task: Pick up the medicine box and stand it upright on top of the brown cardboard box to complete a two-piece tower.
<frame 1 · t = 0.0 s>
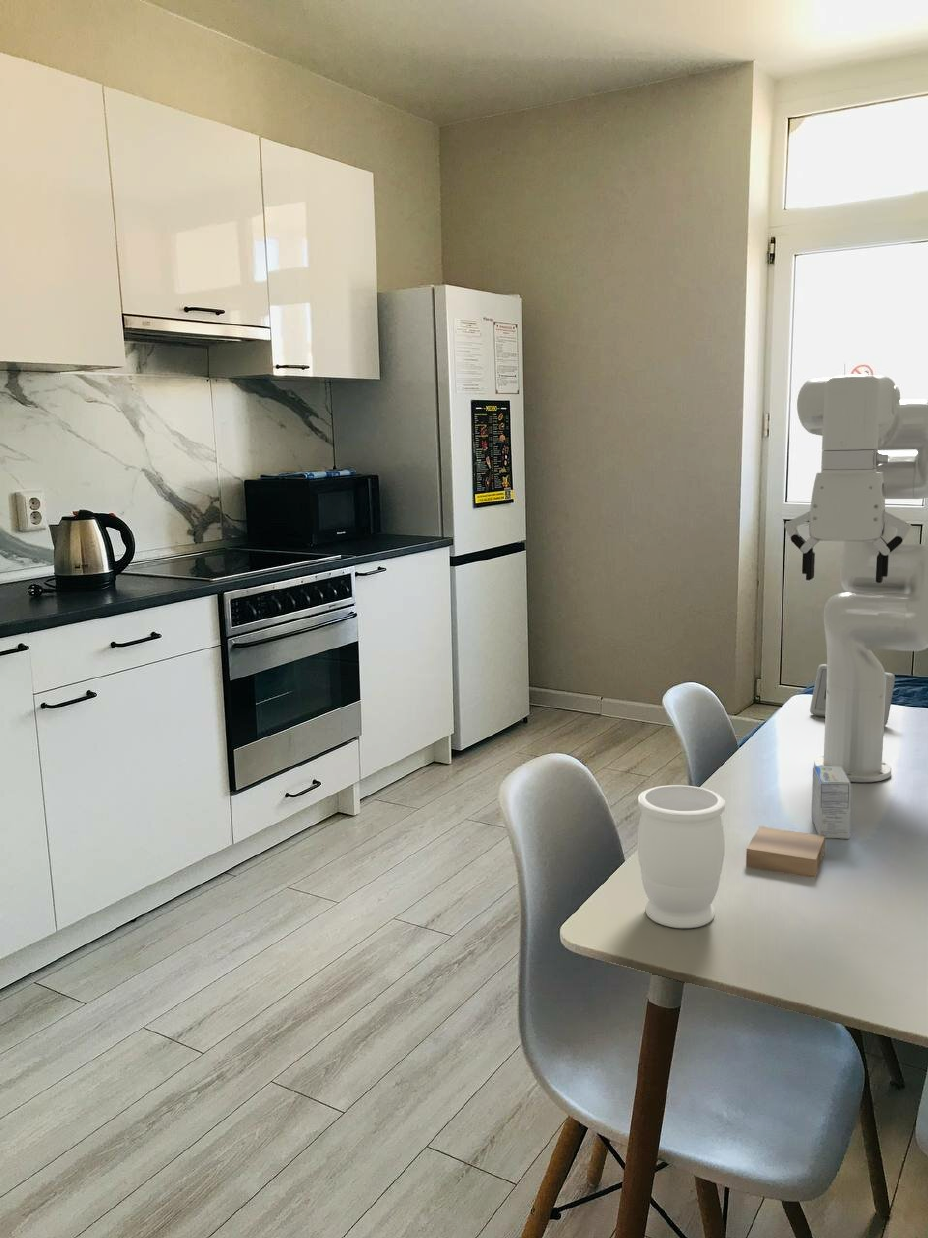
hand: (844, 580, 148), 37 cm above the table, tool pointing down, fingers open, 9 cm apart
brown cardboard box: (785, 862, 140), on the table
medicine box: (829, 830, 150), on the table
jar: (679, 915, 124), on the table
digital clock: (850, 720, 208), on the table
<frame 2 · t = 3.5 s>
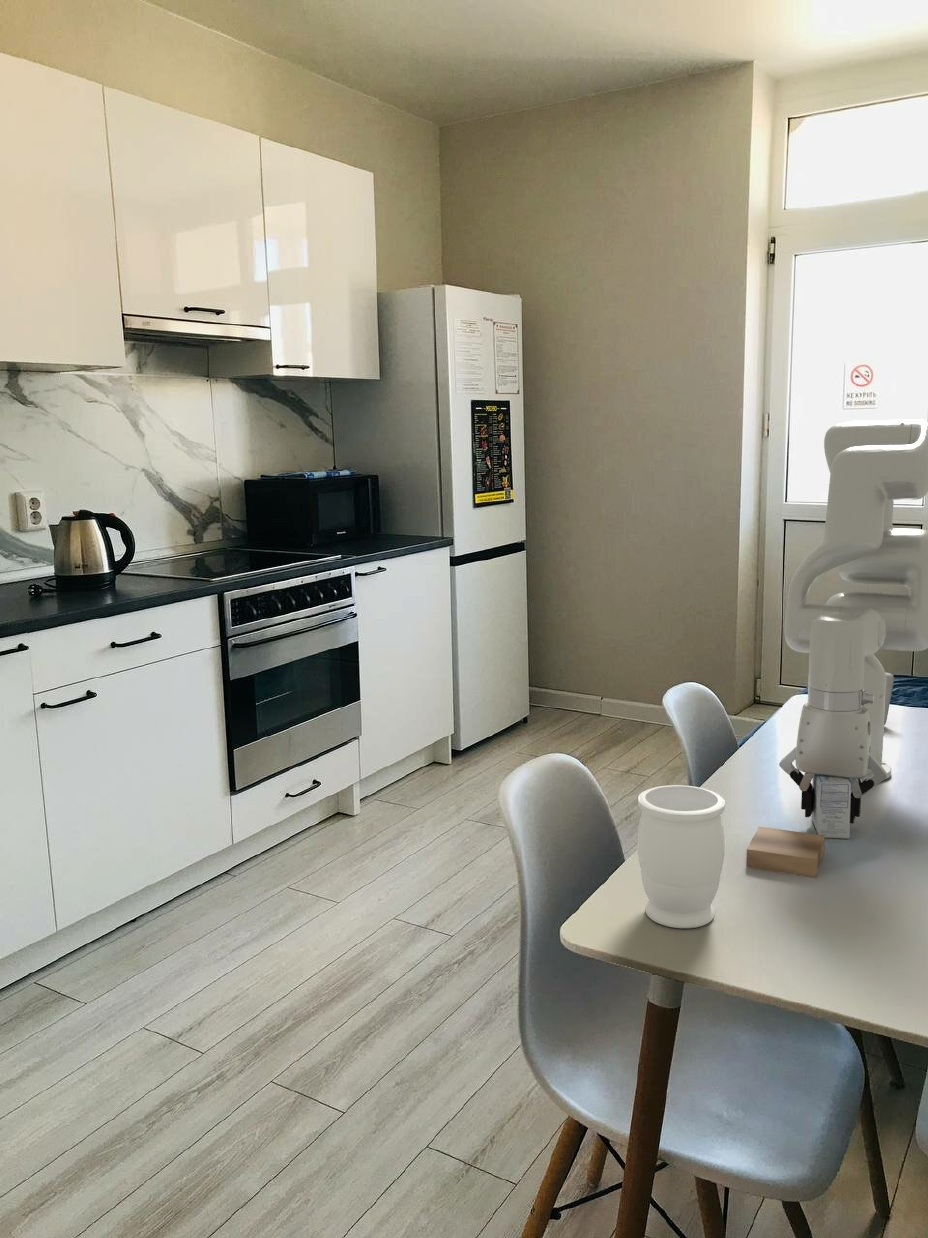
hand: (830, 816, 150), 2 cm above the table, tool pointing down, fingers closed on medicine box, 5 cm apart
medicine box: (829, 830, 150), on the table, touching gripper
everything else where it was.
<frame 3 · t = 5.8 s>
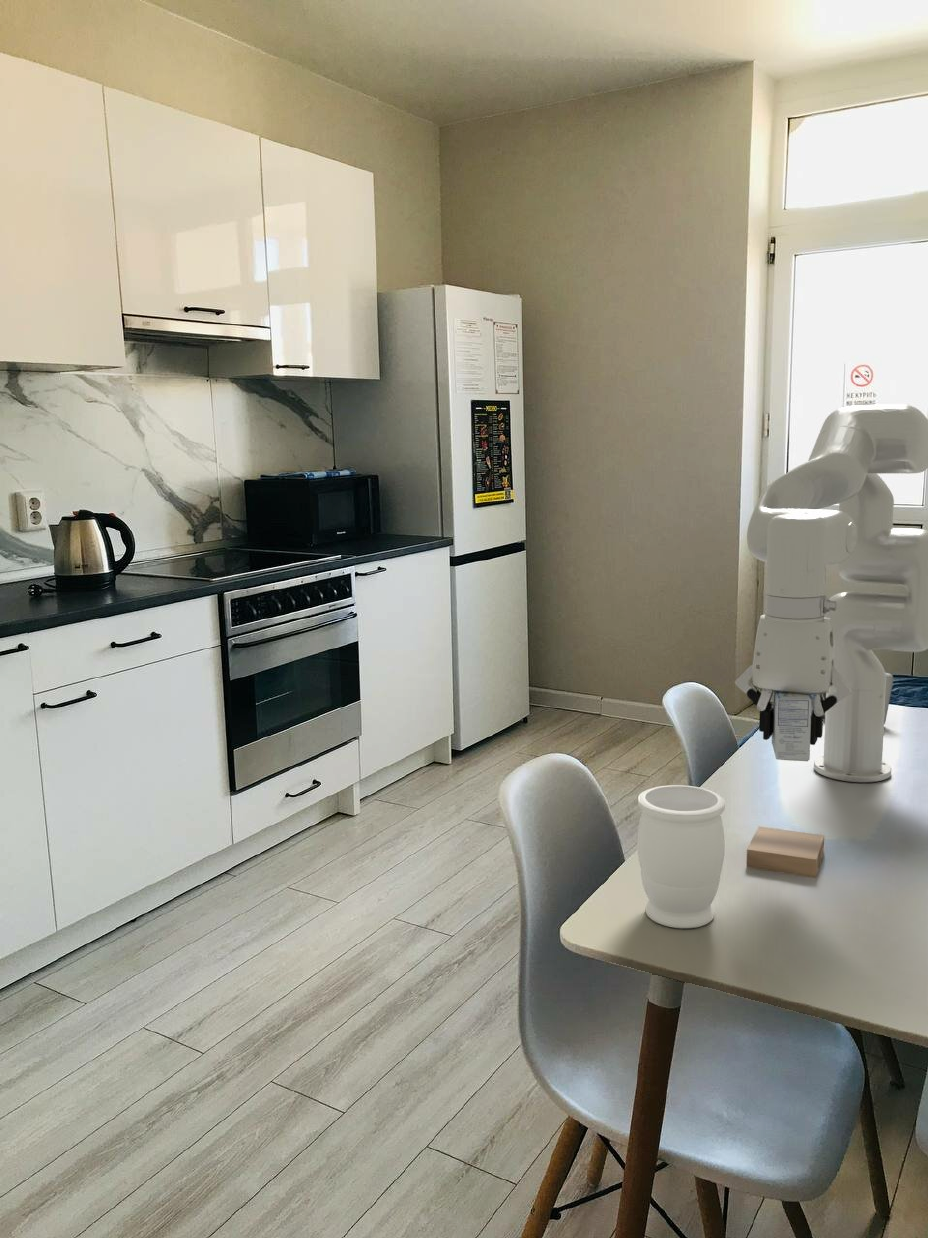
hand: (790, 738, 137), 17 cm above the table, tool pointing down, fingers closed on medicine box, 5 cm apart
medicine box: (789, 754, 137), point 15 cm above the table, touching gripper
everything else where it was.
when the fingers open (6 cm above the table, at t = 8.3 s): medicine box drops 1 cm, resting on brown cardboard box.
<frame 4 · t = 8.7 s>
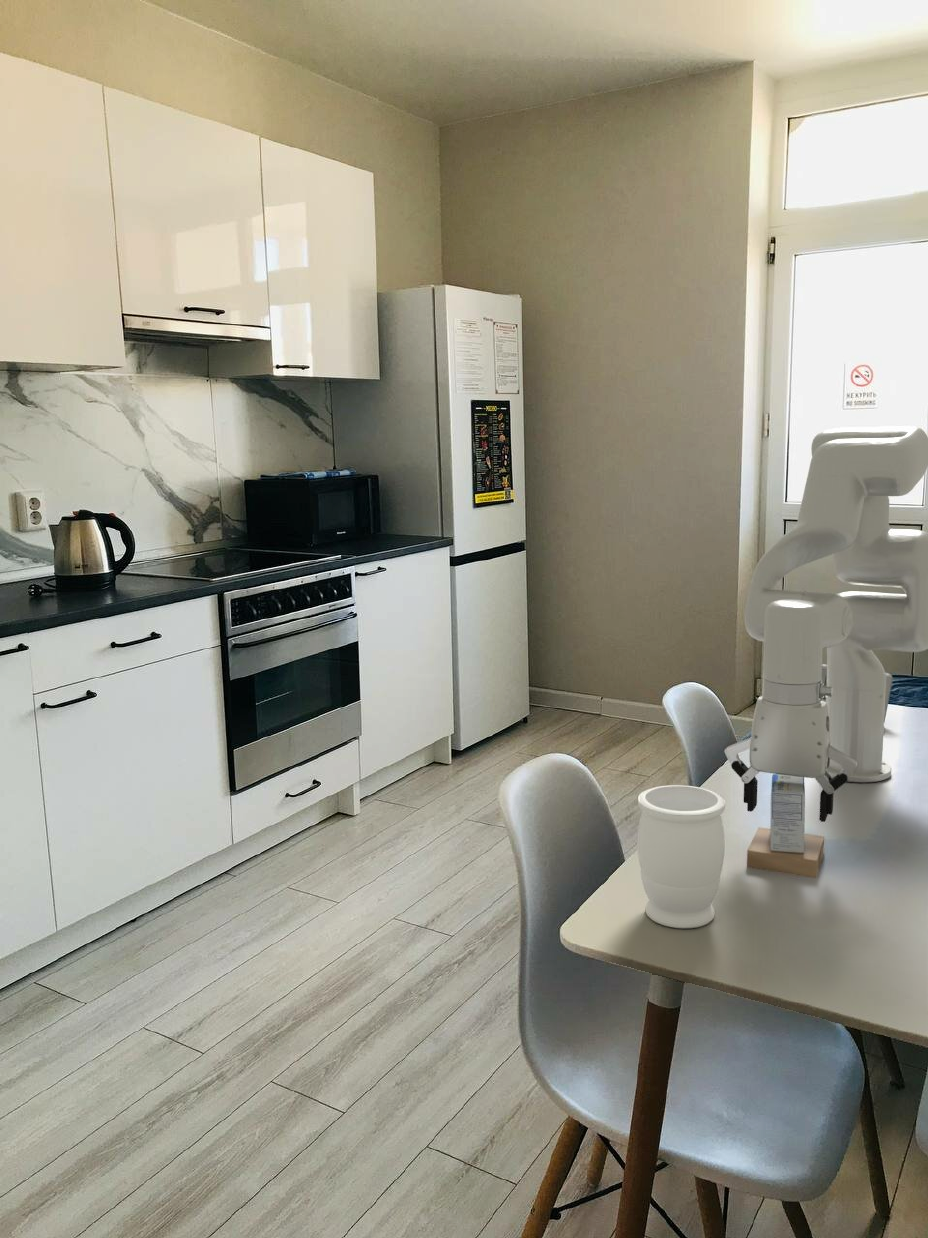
hand: (787, 813, 139), 7 cm above the table, tool pointing down, fingers open, 9 cm apart
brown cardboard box: (785, 863, 140), on the table, touching medicine box
medicine box: (786, 844, 140), point 2 cm above the table, touching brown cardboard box
everything else where it was.
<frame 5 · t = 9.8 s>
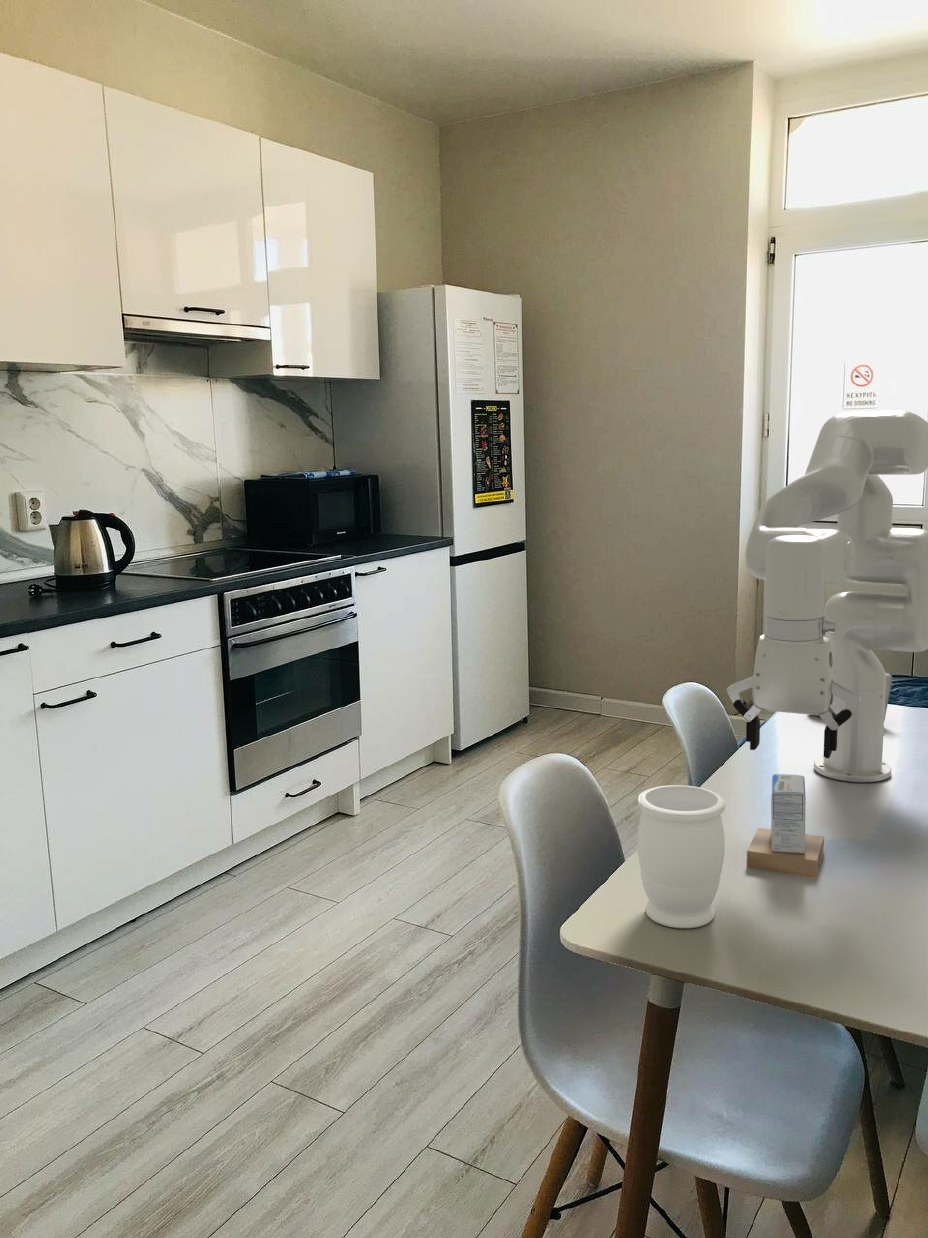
hand: (790, 751, 138), 15 cm above the table, tool pointing down, fingers open, 9 cm apart
nothing on the table moved.
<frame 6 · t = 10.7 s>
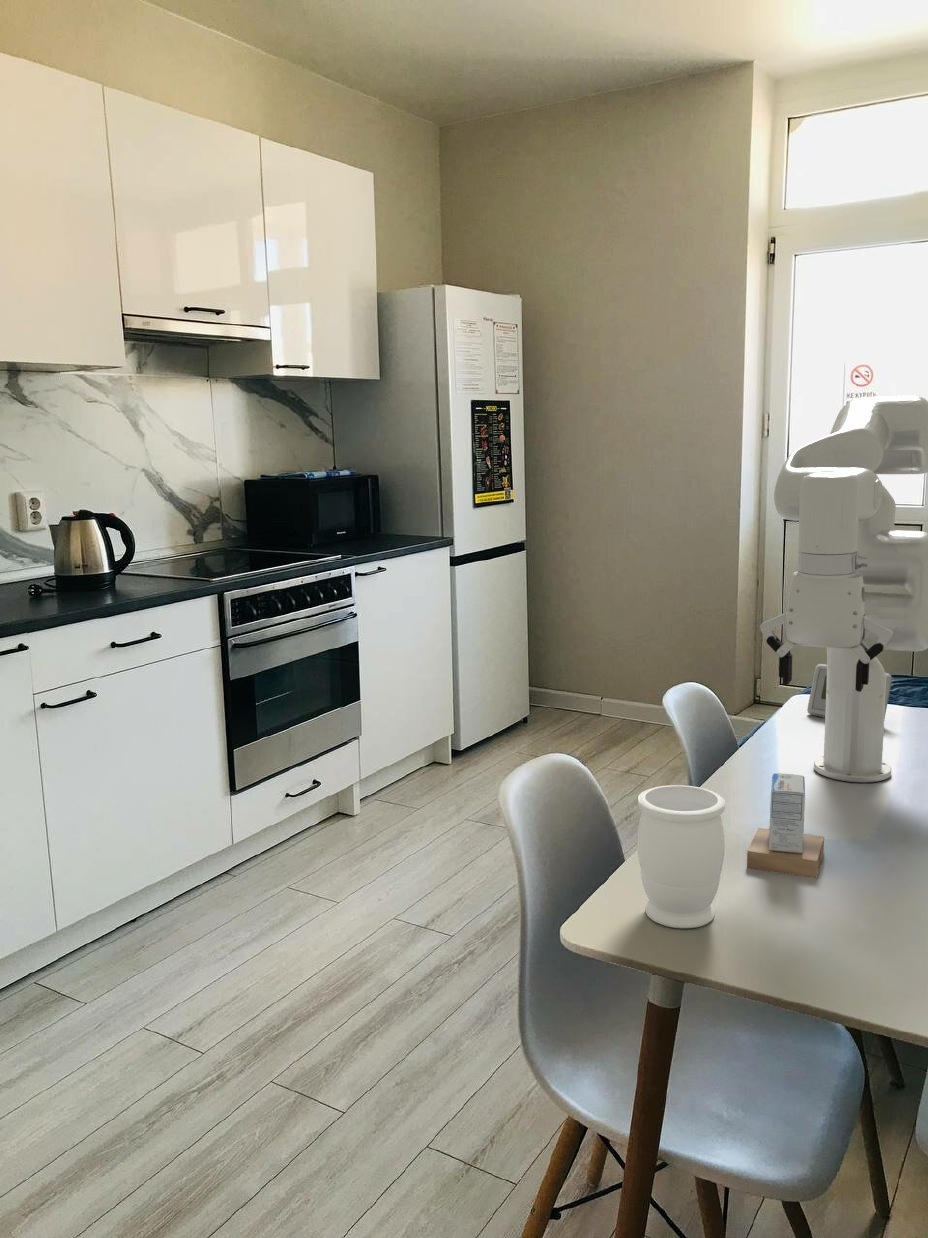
hand: (822, 686, 140), 23 cm above the table, tool pointing down, fingers open, 9 cm apart
nothing on the table moved.
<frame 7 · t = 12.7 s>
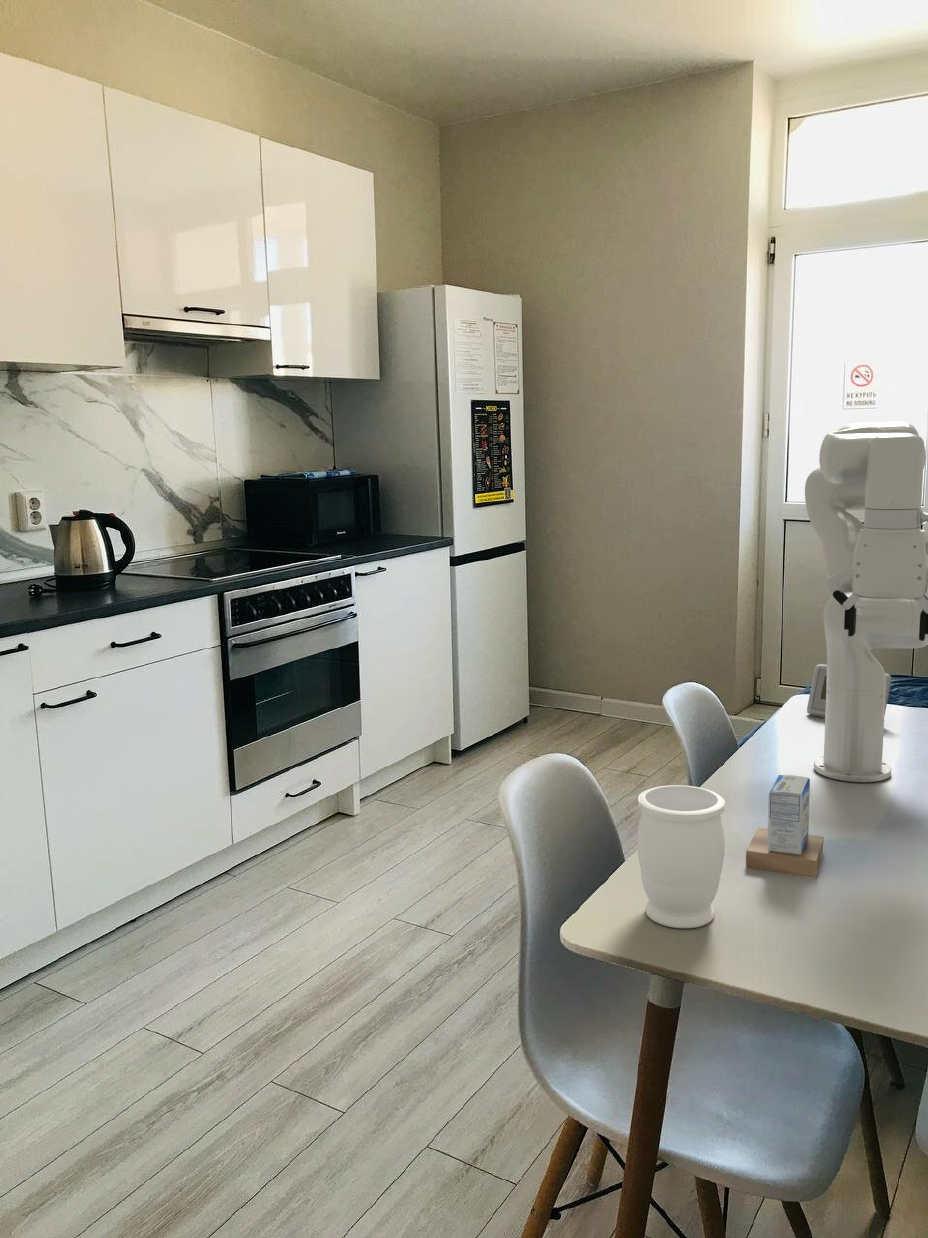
hand: (886, 637, 149), 28 cm above the table, tool pointing down, fingers open, 9 cm apart
at the end: medicine box inside the target area on the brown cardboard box (0.4 cm from its centre), point 2.8 cm above the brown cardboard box's base; medicine box tilted 0°; the gripper is holding nothing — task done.
